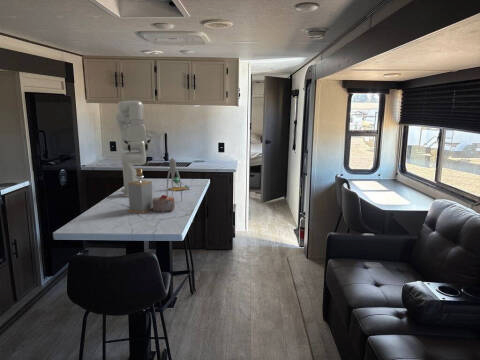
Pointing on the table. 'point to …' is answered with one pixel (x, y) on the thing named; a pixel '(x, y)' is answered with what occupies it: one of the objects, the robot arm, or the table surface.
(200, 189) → the table surface
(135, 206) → the beige tall block
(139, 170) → the knob
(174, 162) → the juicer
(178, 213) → the table surface
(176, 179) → the frog figurine
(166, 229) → the table surface
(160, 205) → the food item
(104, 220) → the table surface
